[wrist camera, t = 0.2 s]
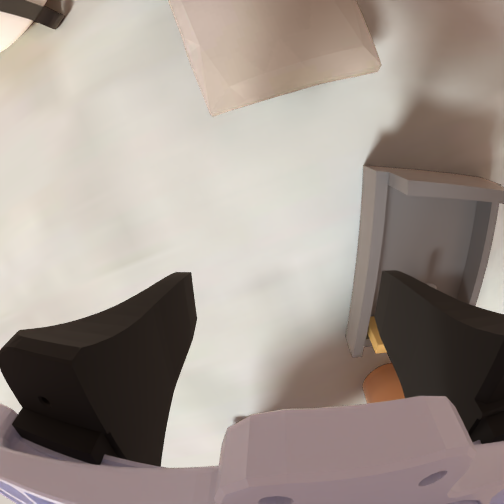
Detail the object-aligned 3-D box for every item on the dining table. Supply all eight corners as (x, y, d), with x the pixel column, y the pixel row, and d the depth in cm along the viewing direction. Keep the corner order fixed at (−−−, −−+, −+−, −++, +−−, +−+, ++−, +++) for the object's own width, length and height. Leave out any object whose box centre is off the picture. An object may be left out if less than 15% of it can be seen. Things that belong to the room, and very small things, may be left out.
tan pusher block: (449, 318, 23) (467, 341, 20) (363, 325, 23) (375, 353, 20) (461, 273, 21) (483, 294, 18) (372, 276, 22) (387, 302, 18)
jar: (401, 394, 28) (424, 456, 20) (358, 399, 28) (374, 466, 20) (414, 360, 26) (445, 424, 18) (368, 365, 26) (391, 436, 18)
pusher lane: (448, 327, 24) (476, 365, 19) (345, 336, 25) (360, 384, 20) (480, 177, 19) (526, 194, 14) (363, 165, 20) (395, 179, 14)
